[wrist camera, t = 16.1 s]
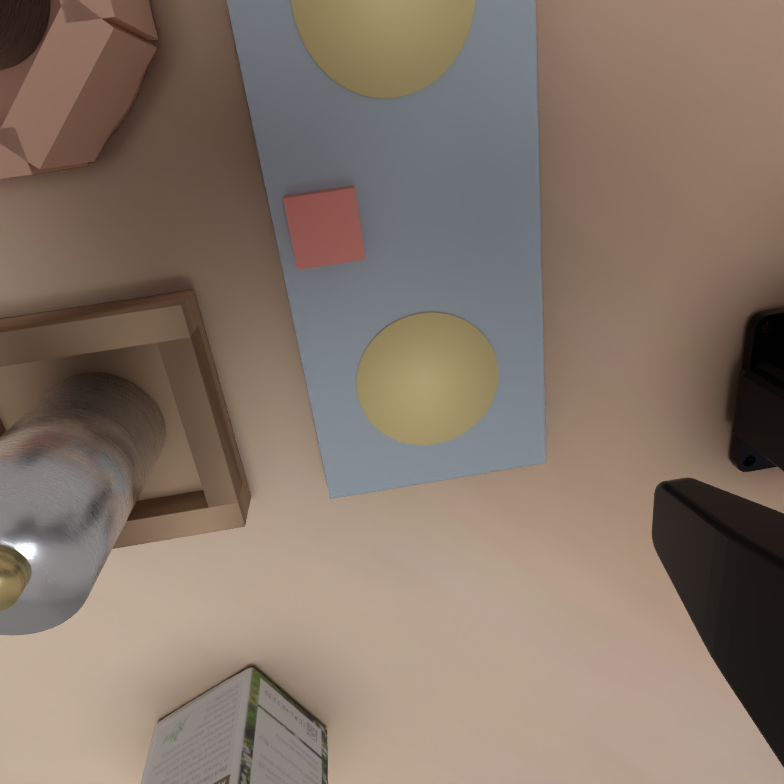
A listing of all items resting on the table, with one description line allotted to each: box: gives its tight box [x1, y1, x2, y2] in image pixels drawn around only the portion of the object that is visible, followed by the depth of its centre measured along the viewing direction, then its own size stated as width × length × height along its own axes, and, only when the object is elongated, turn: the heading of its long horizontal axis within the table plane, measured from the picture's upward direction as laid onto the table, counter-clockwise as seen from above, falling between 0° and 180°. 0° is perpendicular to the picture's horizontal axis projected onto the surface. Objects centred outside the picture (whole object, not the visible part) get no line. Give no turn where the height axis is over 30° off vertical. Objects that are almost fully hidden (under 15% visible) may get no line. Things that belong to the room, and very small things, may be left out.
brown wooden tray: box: [0, 290, 251, 549], centre depth 20 cm, size 8×8×2 cm
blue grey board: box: [226, 0, 546, 499], centre depth 18 cm, size 8×18×2 cm, turn 7°
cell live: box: [0, 372, 166, 635], centre depth 16 cm, size 4×4×8 cm
